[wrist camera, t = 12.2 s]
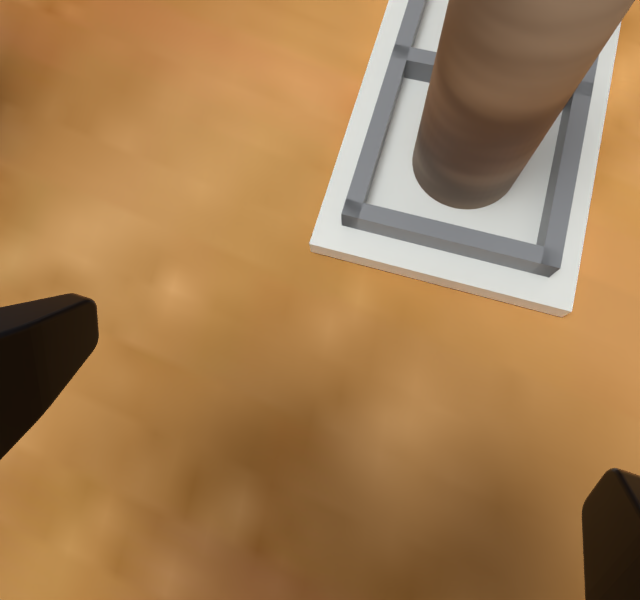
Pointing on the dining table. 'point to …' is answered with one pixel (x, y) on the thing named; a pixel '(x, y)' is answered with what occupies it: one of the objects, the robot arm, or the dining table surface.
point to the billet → (502, 89)
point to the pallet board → (447, 222)
